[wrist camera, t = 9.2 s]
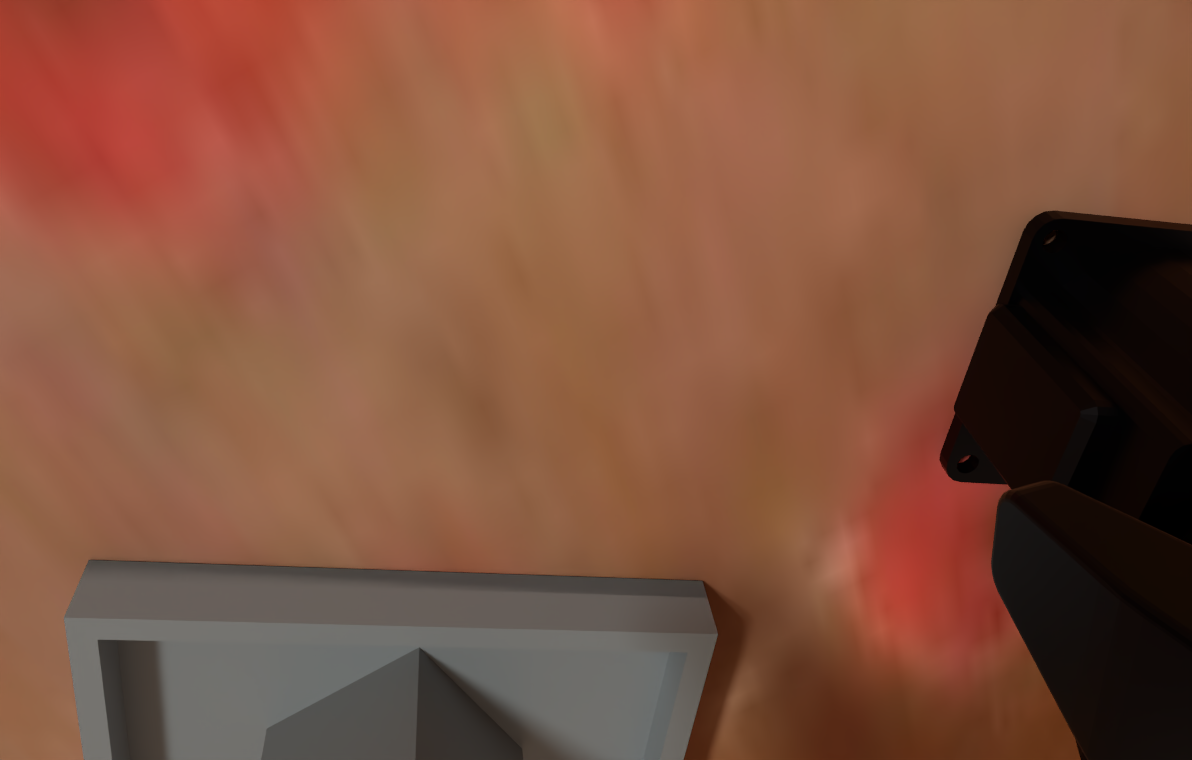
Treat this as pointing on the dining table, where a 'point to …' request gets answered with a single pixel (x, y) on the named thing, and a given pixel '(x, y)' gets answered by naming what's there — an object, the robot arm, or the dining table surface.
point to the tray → (381, 654)
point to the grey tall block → (393, 720)
